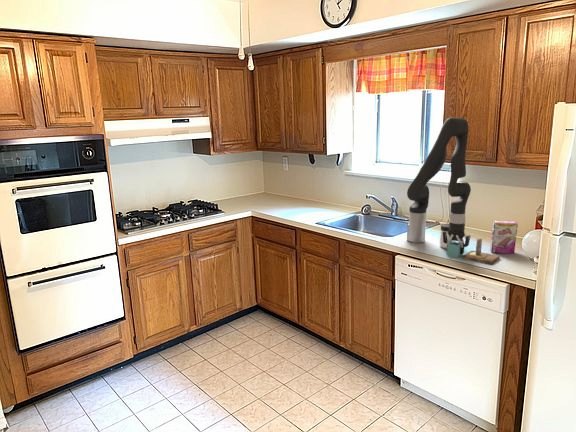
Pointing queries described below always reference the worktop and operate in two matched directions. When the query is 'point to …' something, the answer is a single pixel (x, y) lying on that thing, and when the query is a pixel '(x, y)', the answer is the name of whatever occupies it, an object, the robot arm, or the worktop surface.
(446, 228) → the jar
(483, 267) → the worktop surface
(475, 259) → the post stand
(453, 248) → the collar
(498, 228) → the candy bar box
